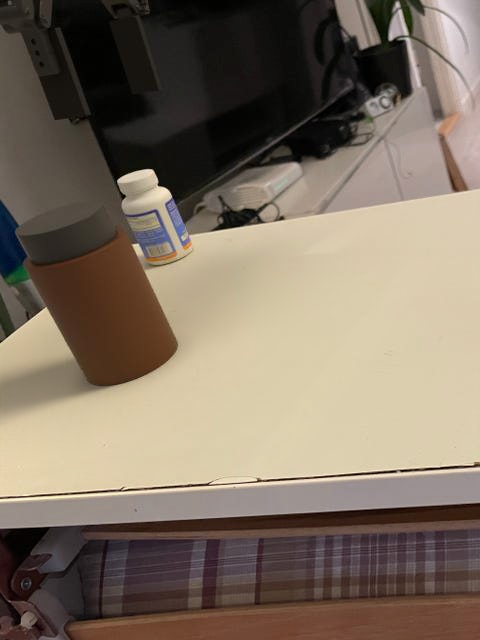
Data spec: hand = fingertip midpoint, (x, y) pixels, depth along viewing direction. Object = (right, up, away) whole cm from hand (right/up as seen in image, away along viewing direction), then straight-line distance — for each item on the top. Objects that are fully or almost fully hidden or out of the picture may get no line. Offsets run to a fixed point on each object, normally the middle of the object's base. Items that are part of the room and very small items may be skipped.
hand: (113, 104), depth 68 cm
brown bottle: (+2, -23, 0) cm, 23 cm away
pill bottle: (-3, -11, +21) cm, 24 cm away
